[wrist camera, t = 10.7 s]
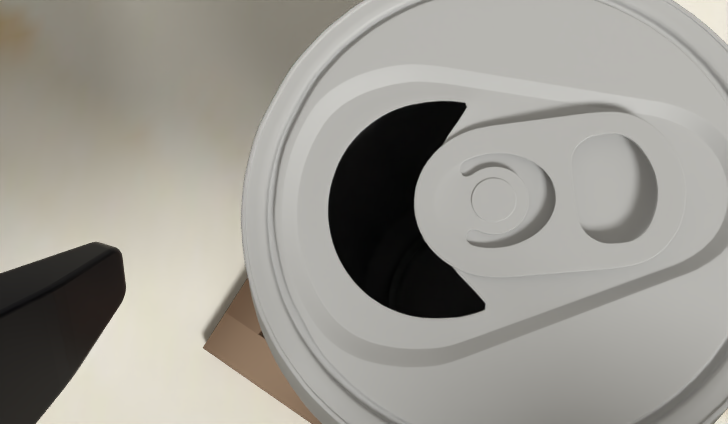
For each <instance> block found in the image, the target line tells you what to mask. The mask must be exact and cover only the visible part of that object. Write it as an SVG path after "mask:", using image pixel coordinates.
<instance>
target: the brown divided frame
mask: <svg viewBox="0 0 728 424" xmlns="http://www.w3.org/2000/svg"><path fill="white" fill-rule="evenodd" d="M262 334H263V333H262V331H261V328H260V325H259V322H258V318H257V315H256V311H255V307H254V304H253V300H252V296H251V291H250V286H249V279H248V278H247V280H246V281H245V283H244V284H243V286H242V287H241V289H240V291H239V292H238V294H237V295H236V297H235V298H234V300H233V301H232V303H231V305H230V306H229V308H228V309H227V311H226V312H225V314H224V315H223V317H222V319H221V320H220V322H219V323H218V325H217V326H216V328H215V330H214V331H213V333H212V334H211V336H210V337H209V339H208V340H207V342H206V344H205V345H204V347H203V348H204V349H205V350H206V351H208V352H209V353H211V354H212V355H214V356H215V357H217V358H218V359H219V360H221V361H222V362H224V363H225V364H227V365H228V366H229V367H231V368H232V369H234V370H235V371H237V372H238V373H240V374H241V375H242V376H244V377H245V378H247V379H248V380H250V381H251V382H252V383H254V384H255V385H257V386H258V387H260V388H261V389H263V390H264V391H265V392H267V393H268V394H270V395H271V396H273V397H274V398H275V399H277V400H278V401H280V402H281V403H283V404H284V405H286V406H287V407H288V408H290V409H291V410H293V411H294V412H296V413H297V414H298V415H300V416H301V417H303V418H304V419H306V420H307V421H309V422H310V423H311V424H322V423H321V422H320V421H319V420H318V419H317V418H316V417H315V416H314V415H313V414H312V413H311V412H310V410H309V409H308V408H307V407H306V406H305V405H304V403H303V402H302V401H301V399H300V398H299V396H298V395H297V394H296V392H295V391H294V390H293V388H292V387H291V385H290V384H289V382H288V381H287V379H286V378H285V376H284V375H283V373H282V372H281V370H280V368H279V366H278V364H277V363H276V361H275V359H274V357H273V355H272V353H271V351H270V348H269V346H268V344H267V342H266V340H265V338H264V336H263V335H262Z"/></svg>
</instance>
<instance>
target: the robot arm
mask: <svg viewBox="0 0 728 424" xmlns="http://www.w3.org/2000/svg"><path fill="white" fill-rule="evenodd" d="M125 291H126V283H125V274H124V266H123V258H122V253H121V252H120V250H119V249H117V248H116V247H113V246H110V245H106V244H103V243H100V242H92V243H89V244H86V245H83V246H80V247H77V248H74V249H71V250H68V251H65V252H62V253H59V254H56V255H53V256H50V257H47V258H44V259H42V260H39V261H36V262H33V263H30V264H27V265H24V266H21V267H18V268H15V269H12V270H9V271H6V272H3V273H0V424H36V423H37V421H38V420H39V419H40V418H41V416H42V415H43V414H44V413H45V412H46V410H47V409H48V408H49V407H50V405H51V404H52V403H53V402H54V400H55V399H56V398H57V397H58V395H59V394H60V393H61V392H62V390H63V389H64V388H65V387H66V385H67V384H68V383H69V381H70V380H71V379H72V377H73V376H74V374H75V373H76V372H77V370H78V369H79V367H80V366H81V364H82V363H83V361H84V360H85V358H86V357H87V355H88V354H89V352H90V350H91V349H92V347H93V346H94V344H95V343H96V341H97V340H98V338H99V337H100V335H101V334H102V332H103V330H104V329H105V327H106V326H107V324H108V323H109V321H110V320H111V318H112V317H113V315H114V314H115V312H116V310H117V309H118V307H119V306H120V304H121V303H122V301H123V298H124V296H125Z"/></svg>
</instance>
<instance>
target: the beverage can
mask: <svg viewBox="0 0 728 424" xmlns="http://www.w3.org/2000/svg"><path fill="white" fill-rule="evenodd" d="M241 228H242V243H243V251H244V260H245V266H246V271H247V276H248V279H249V286H250V291H251V296H252V300H253V304H254V307H255V311H256V315H257V318H258V322H259V325H260V328H261V331H262V333H263V335H264V338H265V340H266V342H267V344H268V346H269V348H270V351H271V353H272V355H273V357H274V359H275V361H276V363H277V364H278V366H279V368H280V370H281V372H282V373H283V375H284V376H285V378H286V379H287V381H288V382H289V384H290V385H291V387H292V388H293V390H294V391H295V392H296V394H297V395H298V396H299V398H300V399H301V401H302V402H303V403H304V405H305V406H306V407H307V408H308V409H309V410H310V412H311V413H312V414H313V415H314V416H315V417H316V418H317V419H318V420H319V421H320V422H321V423H322V424H714V423H715V422H716V421H717V420H718V419H719V418H720V416H721V415H722V414H723V413H724V412H725V411H726V410H727V409H728V45H727V44H726V43H725V42H724V41H723V40H722V39H721V38H720V37H719V36H718V35H717V34H716V33H715V32H714V31H713V30H712V29H710V28H709V27H708V26H707V25H706V24H704V23H703V22H702V21H701V20H699V19H698V18H697V17H696V16H695V15H693V14H692V13H690V12H689V11H687V10H686V9H685V8H683V7H682V6H680V5H679V4H677V3H676V2H674V1H673V0H363V1H362V2H360V3H358V4H357V5H355V6H354V7H353V8H351V9H350V10H349V11H347V12H346V13H345V14H344V15H342V16H341V17H340V18H339V19H337V20H336V21H335V22H334V23H332V24H331V25H330V26H329V27H328V28H326V29H325V30H324V31H323V32H322V33H321V34H320V35H319V36H318V37H317V38H316V39H315V40H314V41H313V42H312V44H311V45H310V46H309V47H308V48H307V49H306V50H305V51H304V52H303V53H302V55H301V56H300V57H299V58H298V59H297V60H296V62H295V63H294V64H293V66H292V67H291V69H290V70H289V72H288V73H287V75H286V76H285V78H284V80H283V81H282V83H281V85H280V87H279V89H278V90H277V92H276V94H275V96H274V98H273V99H272V101H271V103H270V105H269V107H268V109H267V111H266V113H265V115H264V117H263V119H262V121H261V123H260V125H259V127H258V130H257V132H256V135H255V138H254V141H253V145H252V148H251V152H250V156H249V160H248V164H247V169H246V173H245V178H244V185H243V195H242V208H241Z"/></svg>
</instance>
